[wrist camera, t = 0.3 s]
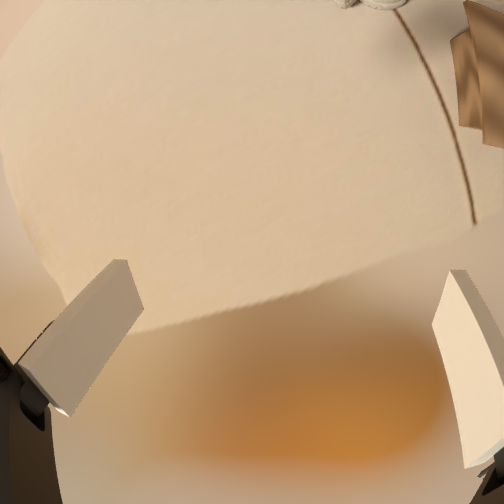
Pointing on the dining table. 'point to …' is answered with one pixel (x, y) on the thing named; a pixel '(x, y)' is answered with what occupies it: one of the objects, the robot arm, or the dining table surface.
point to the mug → (373, 3)
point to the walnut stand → (481, 73)
